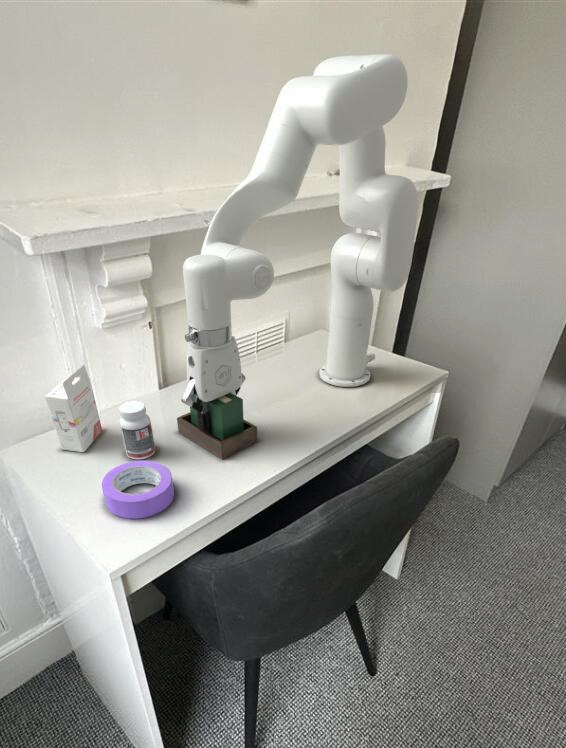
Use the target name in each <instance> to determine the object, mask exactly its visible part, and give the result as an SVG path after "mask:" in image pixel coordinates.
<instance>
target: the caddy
mask: <svg viewBox="0 0 566 748" xmlns="http://www.w3.org/2000/svg"><path fill="white" fill-rule="evenodd" d="M176 423H177V430H178V434H180V435H182V436H183V437H185V438H187V439H188V440H189V441H191V442H193V443H194V444H196V445H198V446H199V447H200V448H202V449H204V450H206V451H208V452H209V453H211V454H212V455H214V457H216V458H219V459H220V460H224V459H226V458H227V457H230V456H232V455H234V454H236V453H238V452H240V451H242V450H244V449H245V448H247V447H250V446H251V445H253V444H255V443H257V442H258V426H257V425H255V424H253V423H251V422H250V421H248V420H245V419H244V431H242V432H240V433H238V434H236V435H234V436H232V437H230V438H228V439H226V440H224V441H222V440H221V439H219V438H217V437H216V436H214V435H212V434H210V433H209V432H207V431H205V430H204V429H202V428H200V427H199V426H197V425H195V424H193V423H192V422H191V413H190V411H189V412H187V413H184V414H183V415H181V416H177V417H176Z"/></svg>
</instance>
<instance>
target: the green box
mask: <svg viewBox="0 0 566 748" xmlns="http://www.w3.org/2000/svg"><path fill="white" fill-rule="evenodd" d="M195 396H196V395H194V396H193V401H195ZM202 402H203V401H202V400H201V406H202ZM189 412H190V413H191V422H192V423H193V424H195V425H197V426H199V424H198V416H197V410H195V409H193V408H192V407H190V406H189ZM207 412H209V413H210V420H211V431H209V433H210V434H212V435H214V436H216V437H217V438H219V439H221V440H222V441H224V440H226V439H228V438H230V437H232V436H234V435H236V434H238V433H240V432H242V431H244V420H245V419H244V399H243V398H242V397H239V395H237V396H236V395H234V394H232V393H228V394H226V395H224V396H221V397H219V398H217V399H214V400H212V401H209V405H208V411H207ZM199 427H200V426H199ZM200 428H201V427H200ZM202 429H203V428H202ZM205 431H206V430H205ZM207 432H208V431H207Z"/></svg>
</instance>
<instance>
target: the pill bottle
mask: <svg viewBox="0 0 566 748" xmlns="http://www.w3.org/2000/svg"><path fill="white" fill-rule="evenodd" d="M118 409H119V414H120V416H121V417H120V419H119V421H118V422H119V423H118V424H119V428H120V433H121V437H122V442H123V446H124V451H125V454H126V456H127V458H129V459H133V460H136V461H141V460H144V459H149V458H150V457H152V456H153V455H154V454H155V452H156V444H155V439H154V433H153V428H152V427H153V426H152V422H151V418H150V416H149V414H147V409H146V404H145V403H144V402H142V401H139V400H129V401H125V402H124V403H122V404H120V406H119V408H118Z"/></svg>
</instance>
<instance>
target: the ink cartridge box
mask: <svg viewBox="0 0 566 748" xmlns="http://www.w3.org/2000/svg"><path fill="white" fill-rule="evenodd" d="M44 398H45V401H46V404H47V407H48V410H49V414H50V416H51V419H52V422H53V426H54V428H55V431H56V435H57V438H58V440H59V444H60V447H61V450H62V451H70V452H79V453H85V451H86V450H87V449H88V448H89V447H90V446H91V445H92V444H93V442H94V441H95V440H96V439H97V438H98V436H99V435H100V434H101V433H102V432H103V428H102V423H101V418H100V415H99V411H98V406H97V403H96V399H95V395H94V391H93V387H92V382H91V379H90V377H89V374H88V371H87V368H86V366H85V364H83V365H81V366H80V367H79V368H78V369H77V370H75V371H74V372H73V373H71V374H70V375H69V376H67V377H66V378H65V379H64V380H62V381H61V382H60V383H59V384H58V385H57V386H55V387H54V388H53V389H52V390H51V391H50V392H48V393H46V394H45V395H44Z"/></svg>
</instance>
